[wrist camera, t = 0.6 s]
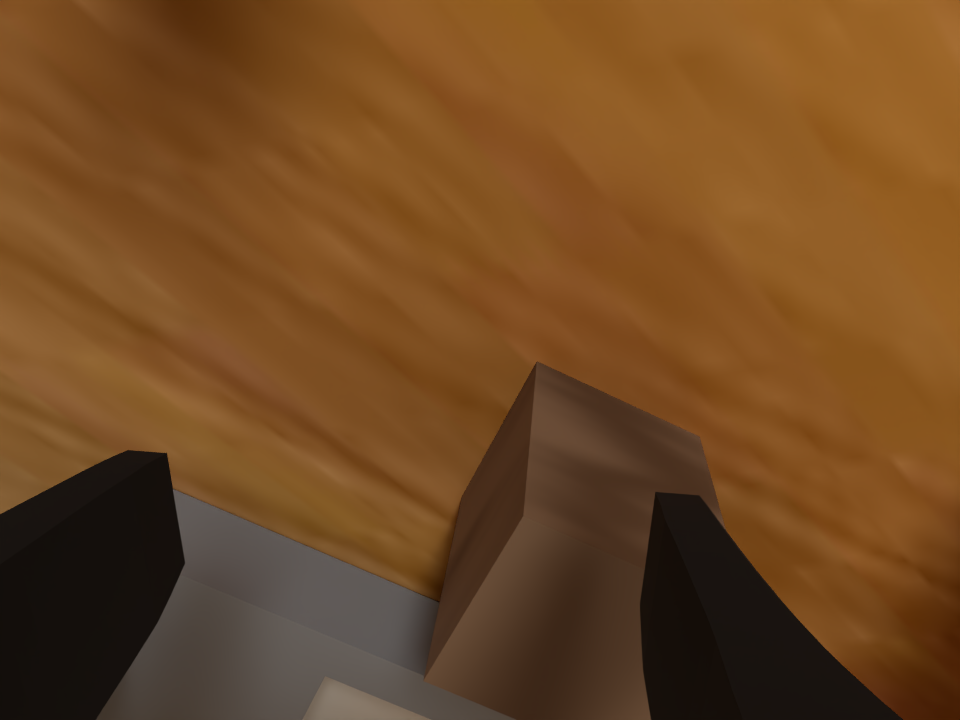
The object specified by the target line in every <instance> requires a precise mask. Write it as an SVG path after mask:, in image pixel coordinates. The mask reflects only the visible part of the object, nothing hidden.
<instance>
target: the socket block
mask: <svg viewBox="0 0 960 720" xmlns="http://www.w3.org/2000/svg"><path fill="white" fill-rule="evenodd" d="M173 493H174V499H175V505H176V511H177V517H178V523H179V529H180V535H181V541H182V547H183V553H184V559H185V565H184V567H183V569H182V571H181V574H180V576H179V578H178V581H177V583H176V585H175V587H174V590H173V592H172V594H171V596H170V598H169V600H168V603H167V605H166V607H165V609H164V611H163V613H162V615H161V617H160V619H159V621H158V623H157V625H156V626H155V628H154V630H153V631H152V633H151V634H150V636H149V638H148V639H147V641H146V642H145V644H144V646H143V647H142V649H141V650H140V652H139V653H138V655H137V657H136V658H135V660H134V661H133V663H132V665H131V666H130V668H129V669H128V671H127V672H126V674H125V675H124V677H123V679H122V680H121V682H120V683H119V685H118V686H117V688H116V689H115V691H114V692H113V694H112V695H111V697H110V699H109V700H108V702H107V703H106V705H105V706H104V708H103V709H102V711H101V712H100V714H99V716H98V717H97V719H96V720H516V719H513V718H511V717H509V716H506V715H504V714H501V713H499V712H497V711H494V710H492V709H489V708H487V707H485V706H482V705H480V704H477V703H475V702H473V701H470V700H468V699H465V698H463V697H461V696H458V695H456V694H453V693H451V692H449V691H446V690H444V689H441V688H439V687H437V686H434V685H432V684H429V683H427V682H424V681H423V680H424V675H425V670H426V665H427V661H428V656H429V651H430V646H431V642H432V637H433V632H434V627H435V622H436V618H437V613H438V608H439V602H437V601H434V600H432V599H430V598H427V597H425V596H423V595H420V594H418V593H415V592H413V591H411V590H408V589H406V588H404V587H401V586H399V585H397V584H394V583H392V582H390V581H387V580H385V579H383V578H380V577H378V576H376V575H373V574H371V573H369V572H366V571H364V570H362V569H359V568H357V567H355V566H352V565H350V564H347V563H345V562H343V561H340V560H338V559H336V558H333V557H331V556H329V555H326V554H324V553H322V552H319V551H317V550H315V549H312V548H310V547H308V546H305V545H303V544H301V543H298V542H296V541H294V540H291V539H289V538H286V537H284V536H282V535H279V534H277V533H275V532H272V531H270V530H268V529H265V528H263V527H261V526H258V525H256V524H254V523H251V522H249V521H247V520H244V519H242V518H240V517H237V516H235V515H233V514H230V513H228V512H226V511H223V510H221V509H218V508H216V507H214V506H211V505H209V504H207V503H204V502H202V501H200V500H197V499H195V498H193V497H190V496H188V495H186V494H183V493H181V492H179V491H176V490H174V489H173Z"/></svg>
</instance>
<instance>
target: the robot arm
mask: <svg viewBox="0 0 960 720" xmlns="http://www.w3.org/2000/svg"><path fill="white" fill-rule="evenodd" d="M184 565H185V559H184V553H183V547H182V541H181V535H180V529H179V523H178V517H177V511H176V505H175V499H174V493H173V487H172V481H171V475H170V469H169V463H168V457H167V453H157V452H144V451H131V450H127V451H125V452H123V453H120V454H118V455H115V456H113V457H111V458H109V459H107V460H104V461H102V462H100V463H98V464H96V465H94V466H92V467H90V468H88V469H86V470H84V471H82V472H80V473H79V474H77V475H75V476H73V477H71V478H69V479H67V480H65V481H63V482H61V483H59V484H57V485H56V486H54V487H52V488H50V489H48V490H46V491H44V492H42V493H40V494H38V495H36V496H34V497H33V498H31V499H29V500H27V501H25V502H23V503H21V504H19V505H17V506H15V507H13V508H11V509H9V510H8V511H6V512H4V513H2V514H0V720H96V719H97V717H98V716H99V714H100V712H101V711H102V709H103V708H104V706H105V705H106V703H107V702H108V700H109V699H110V697H111V695H112V694H113V692H114V691H115V689H116V688H117V686H118V685H119V683H120V682H121V680H122V679H123V677H124V675H125V674H126V672H127V671H128V669H129V668H130V666H131V665H132V663H133V661H134V660H135V658H136V657H137V655H138V653H139V652H140V650H141V649H142V647H143V646H144V644H145V642H146V641H147V639H148V638H149V636H150V634H151V633H152V631H153V630H154V628H155V626H156V625H157V623H158V621H159V619H160V617H161V615H162V613H163V611H164V609H165V607H166V605H167V603H168V600H169V598H170V596H171V594H172V592H173V590H174V587H175V585H176V583H177V581H178V578H179V576H180V574H181V571H182V569H183V567H184ZM640 621H641V644H642V662H643V674H644V680H645V686H646V692H647V698H648V704H649V711H650V717H651V720H903V719H902V718H901V717H899V716H898V715H897V714H896V713H895V712H893V711H892V710H891V709H890V708H889V707H888V706H886V705H885V704H884V703H883V702H882V701H881V700H880V699H879V698H877V697H876V696H875V695H874V694H873V693H872V692H871V691H870V690H869V689H868V688H867V687H865V686H864V685H863V684H862V683H861V682H860V681H859V680H858V679H857V678H856V677H855V676H853V675H852V674H851V673H850V672H849V671H848V670H847V669H846V668H845V667H844V666H842V665H841V664H840V663H839V662H838V661H837V660H836V659H835V658H834V657H833V656H832V655H831V654H830V653H829V652H828V651H827V650H826V649H825V648H824V647H823V646H822V645H821V644H820V643H819V642H818V640H817V639H816V638H815V637H814V636H813V635H812V634H811V633H810V632H809V631H808V630H807V629H806V628H805V627H804V626H803V624H802V623H801V622H800V621H799V620H798V619H797V618H796V617H795V616H794V614H793V613H792V612H791V611H790V610H789V609H788V608H787V607H786V605H785V604H784V603H783V602H782V601H781V600H780V598H779V597H778V596H777V595H776V594H775V592H774V591H773V590H772V589H771V587H770V586H769V585H768V584H767V583H766V581H765V580H764V579H763V578H762V577H761V575H760V574H759V573H758V572H757V571H756V569H755V568H754V567H753V565H752V564H751V563H750V562H749V560H748V559H747V558H746V557H745V555H744V554H743V553H742V551H741V550H740V549H739V547H738V546H737V545H736V543H735V542H734V541H733V539H732V538H731V537H730V535H729V534H728V533H727V531H726V530H725V529H724V527H723V526H722V525H721V523H720V522H719V520H718V519H717V518H716V516H715V515H714V513H713V512H712V511H711V509H710V508H709V507H708V505H707V504H706V503H705V501H704V500H703V499H702V498H701V497H700V496H699V495H689V494H677V493H664V492H655V498H654V506H653V513H652V520H651V527H650V534H649V542H648V549H647V556H646V563H645V570H644V578H643V585H642V592H641V599H640Z"/></svg>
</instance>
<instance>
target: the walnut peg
mask: <svg viewBox="0 0 960 720" xmlns="http://www.w3.org/2000/svg"><path fill="white" fill-rule="evenodd" d="M655 492H664V493H677V494H689V495H699V496H700V497H701V498H702V499H703V500H704V501H705V503H706V504H707V505H708V507H709V508H710V509H711V511H712V512H713V513H714V515H715V516H716V518H717V519H718V520H719V522H720V523H721V525H722V526H723V527H724V529H725V525H724V522H723V518H722V515H721V511H720V508H719V504H718V501H717V497H716V493H715V490H714V486H713V483H712V479H711V476H710V472H709V469H708V465H707V462H706V458H705V454H704V451H703V447H702V444H701V440H700V437H699V436H697V435H695V434H692V433H690V432H688V431H686V430H684V429H682V428H679V427H677V426H675V425H673V424H671V423H669V422H667V421H664V420H662V419H660V418H658V417H656V416H654V415H651V414H649V413H647V412H645V411H643V410H641V409H638V408H636V407H634V406H632V405H630V404H628V403H626V402H623V401H621V400H619V399H617V398H615V397H613V396H610V395H608V394H606V393H604V392H602V391H600V390H598V389H595V388H593V387H591V386H589V385H587V384H585V383H582V382H580V381H578V380H576V379H574V378H572V377H569V376H567V375H565V374H563V373H561V372H559V371H557V370H554V369H552V368H550V367H548V366H546V365H544V364H541V363H539V362H536V364H535V366H534V368H533V369H532V371H531V373H530V375H529V377H528V378H527V380H526V382H525V384H524V386H523V387H522V389H521V391H520V393H519V395H518V396H517V398H516V400H515V402H514V404H513V406H512V407H511V409H510V411H509V413H508V415H507V416H506V418H505V420H504V422H503V424H502V425H501V427H500V429H499V431H498V433H497V434H496V436H495V438H494V440H493V442H492V443H491V445H490V447H489V449H488V451H487V452H486V454H485V456H484V458H483V460H482V461H481V463H480V465H479V467H478V469H477V471H476V472H475V474H474V476H473V478H472V480H471V481H470V483H469V485H468V487H467V489H466V490H465V492H464V494H463V496H462V499H461V503H460V508H459V513H458V518H457V522H456V527H455V532H454V537H453V541H452V546H451V551H450V556H449V561H448V565H447V570H446V575H445V580H444V584H443V589H442V594H441V599H440V603H439V608H438V613H437V618H436V622H435V627H434V632H433V637H432V642H431V646H430V651H429V656H428V661H427V665H426V670H425V675H424V680H423V681H424V682H427V683H429V684H432V685H434V686H437V687H439V688H441V689H444V690H446V691H449V692H451V693H453V694H456V695H458V696H461V697H463V698H465V699H468V700H470V701H473V702H475V703H477V704H480V705H482V706H485V707H487V708H489V709H492V710H494V711H497V712H499V713H501V714H504V715H506V716H509V717H511V718H513V719H516V720H651V717H650V711H649V704H648V698H647V692H646V686H645V680H644V674H643V662H642V644H641V621H640V599H641V592H642V585H643V578H644V570H645V563H646V556H647V549H648V542H649V534H650V527H651V520H652V513H653V506H654V498H655ZM725 530H726V529H725Z"/></svg>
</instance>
